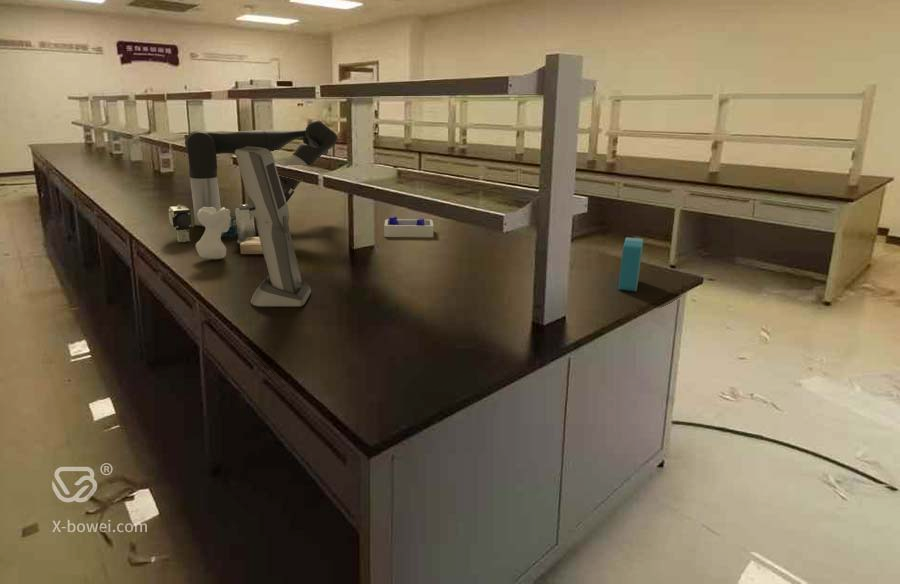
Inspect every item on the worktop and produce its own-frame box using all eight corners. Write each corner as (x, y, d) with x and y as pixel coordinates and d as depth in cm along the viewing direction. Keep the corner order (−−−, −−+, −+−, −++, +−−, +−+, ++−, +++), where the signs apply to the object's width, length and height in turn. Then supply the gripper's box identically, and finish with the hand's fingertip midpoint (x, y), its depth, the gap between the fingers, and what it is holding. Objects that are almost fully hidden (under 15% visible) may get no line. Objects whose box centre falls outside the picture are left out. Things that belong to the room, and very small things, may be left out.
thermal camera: (259, 291, 143) (246, 145, 132) (312, 291, 144) (303, 146, 133) (246, 307, 132) (231, 150, 121) (303, 307, 133) (293, 151, 122)
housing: (240, 240, 193) (236, 203, 189) (259, 240, 193) (255, 203, 190) (234, 244, 187) (231, 206, 183) (254, 244, 188) (251, 207, 184)
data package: (621, 278, 160) (626, 236, 157) (638, 280, 159) (643, 237, 155) (617, 291, 150) (623, 245, 146) (636, 293, 148) (642, 247, 144)
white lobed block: (190, 261, 167) (184, 209, 162) (219, 252, 177) (213, 203, 172) (217, 265, 164) (211, 212, 159) (244, 256, 174) (239, 206, 169)
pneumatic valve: (188, 236, 196) (184, 201, 192) (194, 244, 186) (190, 207, 182) (170, 238, 193) (165, 202, 189) (175, 246, 183) (170, 208, 180)
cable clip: (425, 234, 208) (425, 217, 206) (421, 237, 203) (421, 220, 202) (394, 231, 211) (394, 215, 209) (389, 234, 207) (389, 217, 205)
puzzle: (241, 233, 203) (239, 216, 201) (233, 237, 197) (231, 219, 195) (224, 232, 203) (222, 215, 201) (216, 236, 198) (214, 219, 196)
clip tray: (385, 230, 212) (385, 219, 211) (432, 230, 213) (432, 219, 212) (384, 237, 202) (384, 225, 200) (433, 237, 203) (433, 226, 202)
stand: (249, 245, 186) (248, 236, 185) (281, 246, 186) (280, 236, 185) (240, 253, 176) (239, 243, 175) (274, 253, 177) (273, 243, 176)
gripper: (311, 182, 191) (281, 221, 188) (290, 177, 201) (262, 214, 198) (295, 167, 186) (264, 207, 183) (274, 163, 196) (245, 200, 193)
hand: (263, 210), depth 190 cm, fingers open, 8 cm apart
